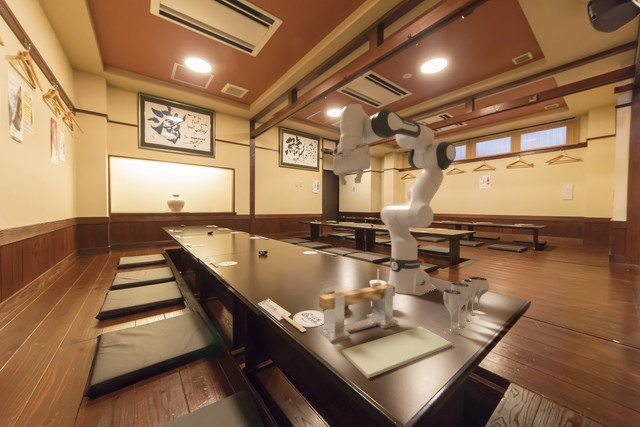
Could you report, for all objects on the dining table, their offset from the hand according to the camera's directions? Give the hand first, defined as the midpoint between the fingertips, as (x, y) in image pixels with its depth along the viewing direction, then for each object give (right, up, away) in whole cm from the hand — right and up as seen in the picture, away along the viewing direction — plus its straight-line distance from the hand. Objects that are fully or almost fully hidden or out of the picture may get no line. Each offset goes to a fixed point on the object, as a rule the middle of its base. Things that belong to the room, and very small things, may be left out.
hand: (350, 184), depth 92 cm
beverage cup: (+10, -46, -3) cm, 47 cm away
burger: (-6, -46, -6) cm, 47 cm away
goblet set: (+36, -46, -13) cm, 60 cm away
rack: (0, -46, -19) cm, 49 cm away
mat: (+9, -46, -30) cm, 56 cm away
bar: (0, -38, -19) cm, 42 cm away
